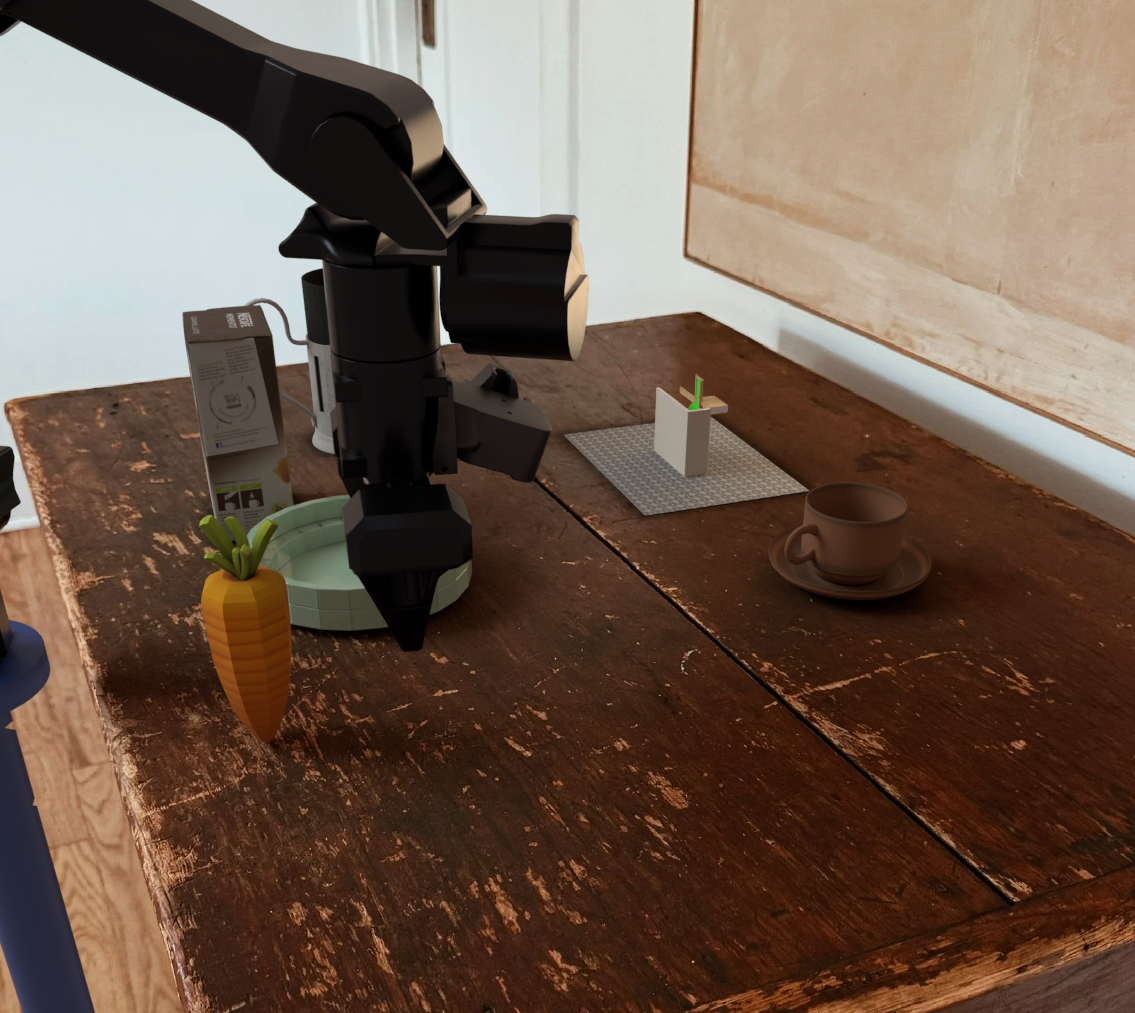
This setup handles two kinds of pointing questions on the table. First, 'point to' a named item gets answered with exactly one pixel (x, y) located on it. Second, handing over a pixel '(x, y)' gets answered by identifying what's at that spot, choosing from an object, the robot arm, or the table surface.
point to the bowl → (332, 569)
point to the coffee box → (238, 412)
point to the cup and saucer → (851, 545)
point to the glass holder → (314, 356)
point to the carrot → (248, 625)
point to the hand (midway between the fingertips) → (404, 611)
